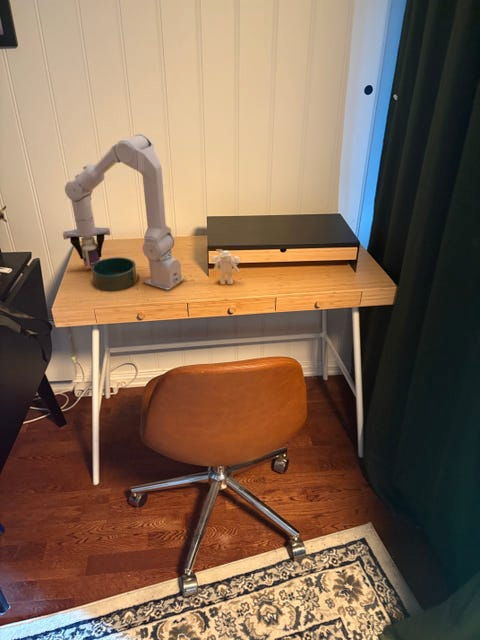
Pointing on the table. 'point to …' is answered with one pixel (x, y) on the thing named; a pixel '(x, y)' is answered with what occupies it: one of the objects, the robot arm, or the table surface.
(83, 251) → the pill bottle
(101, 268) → the pot
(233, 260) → the blocky character figurine
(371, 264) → the table surface
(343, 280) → the table surface
